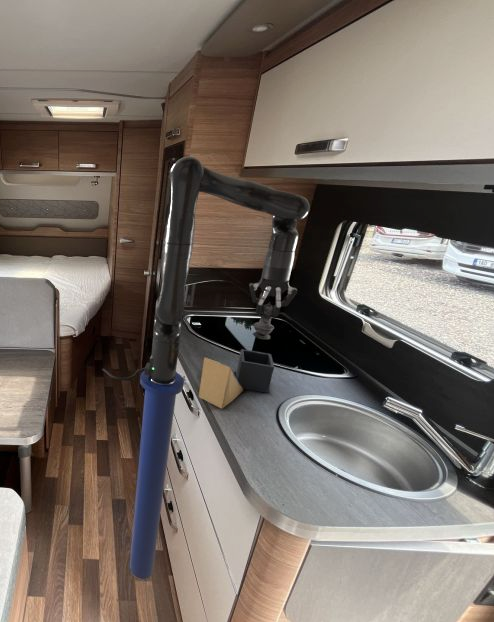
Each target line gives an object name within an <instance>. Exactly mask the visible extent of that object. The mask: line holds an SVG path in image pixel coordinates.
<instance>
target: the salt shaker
mask: <svg viewBox="0 0 494 622" xmlns="http://www.w3.org/2000/svg"><path fill="white" fill-rule="evenodd" d="M273 310H274V305H272V303H271V301H268V302H267V303H266V304H263V307H262V312H261V316H260V319H259V321H257V322H254V324H253V326H254V330H255V331H254V332H253V333H252V335H253V336H254V337H255V338H257V339H260V340H270V339H271V335H270V334H271V333H272V332H273V330H274V329H275V327H274V325H272V324H271V321H272V318H273V316H272V314H273Z"/></svg>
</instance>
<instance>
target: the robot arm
mask: <svg viewBox="0 0 494 622" xmlns="http://www.w3.org/2000/svg"><path fill="white" fill-rule="evenodd" d="M169 181H170V205H169V210H168V211H169V212H168V215H167V219H166V223H165V227H164V232H163V238H162V247H161V261H160V262H161V266H160V267H161V288H160V293H159V296H158V297H157V299H156V302H155V311H154V322H153V335H152V336H153V337H152V345H151V355H150V357H149V362H146V364H145V367H143V368H139V369H137V370H136V371H135V372H134V374H131V376H128V377H120V376H119V377H118V376H114V375H113V374H112V373H110V372H109V371H108V370H107V369H105V368H102V371H103V372H105V373H106V374H107V375H108V376H109V377H110V378H112V379H113V380H118V381H128V380H131V379H133V378H135V377H137V375H138V373H140V372H143V371H144V370H145V371H144V375H148V380H150V381H152V382H153V383H155V384H157V385H162V386H168V385H172V384H173V383H174V382H175V376H176V373H178V372H177V366H178V358H179V351H180V342H181V335H182V319H183V317H184V315H185V293H186V283H187V279H188V275H189V270H190V265H191V260H192V255H193V250H194V249H193V248H194V241H195V240H194V239H195V229H196V211H197V210H196V209H197V203H198V198H199V194H200V193H203V194H208V195H211V196H213V197H217V198H219V199H221V200H225V201H227V202H230V203H233V204H235V205H238V206H240V207H243V208H246V209H249V210H253V211H256V212H260V213H265V214H268V215H271V216H272V220H271V222H272V223H271V235H270V240H269V245H268V248H267V252H266V254H265V258H264V263H263V268H262V271H261V278H260V279H259V280H258V282H254V283H252V282H250V283H249V284H248V287H249V291H250V297H251V301H252V303H255V304H256V309H255V314H256V315H257V316H258V317H261V313H262V310H263V306H264V302H265V300H267V299H266V298H267V297H274V299H275V300H274V301H275V305H273V312H272V316H273V317H272V319H276V318H277V317H278V316H279V314H280V310H281V308H282V307H288V306H289V305H290V303H291V302H292V300H293V299H294V298H295V297H296V295H297V294H298V292H299V291H298V289H297V288H296V287H292V286H290V284H289V283H290V282H289V281H290V278H291V272H292V270H293V266H294V261H295V255H296V254H295V253H296V249H297V244H298V242H299V241H298V240H299V232H298V230H297V224H298V221H301V220H302V219H304V218H305V217H307V216H308V214H309V212H310V208H311V205H310V202H309V201H308V199H307V198H306V197H304V196H302V195H299V194H296V193H291V192H287V191H283V190H279V189H276V188H274V187H271V186H268V185H266V184H262V183H259V182H255V181H253V180H249V179H245V178H241V177H236V176H232V175H226V174H223V173H220V172H217V171H214V170H212V169H210V168H207V167H206V166H204V165H203V164H202V163H201V161H200V160H199V159H198V158H196V157H194V156H184V157H181V158H179V159H178V160H176V161H175V162H174V163H173V165H172V166H171V168H170V170H169ZM258 288H259V289H260V291H261V293H260V295H259V298H258V297H257V295H256V291H257V290H258ZM286 291H287V295H286V296H285V297H284V299H283V300H282V295H283V294H284V293H285V292H286Z"/></svg>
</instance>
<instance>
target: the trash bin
mask: <svg viewBox="0 0 494 622" xmlns="http://www.w3.org/2000/svg"><path fill="white" fill-rule="evenodd" d="M274 370H275V365H274V361H273V357H272V354H271V353H266V352H261V351H255V350H249V349H243V348H241V349H240V352H239V358H238V362H237V366H236V372H235V377H236V379H237V380H238V382H239V384H240V385H241V387H242V388H243V389H246V390H251V391H256V392H261V393H266V394H268V393H269V390H270V385H271V382H272V378H273V374H274Z"/></svg>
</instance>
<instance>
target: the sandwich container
mask: <svg viewBox="0 0 494 622" xmlns="http://www.w3.org/2000/svg"><path fill="white" fill-rule="evenodd" d="M200 377H201V378H200V385H199V390H198V391H199V392H198V398H200V399H202V400H203V401H205V402H207V403H209V404H211V405H213V406H215V407H218V408H219V409H222V410H223V409H224V408H225V407H226V406H228V405H229V404H230V403H231V402H233V401H234V400H235V399H236V398H237V397H238V396H239V395H240V394H241V393H242V392H244V388H242V387H241V385H240V384H239V382H238V380H237V379H236V375H235V374H234V372H233V370H232V368H231V367H230V366H228V365H226V364H223V363H221V362H219V361H217V360H213V359H211V358H209V357H204V358H203V366H202V370H201V376H200Z"/></svg>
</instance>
